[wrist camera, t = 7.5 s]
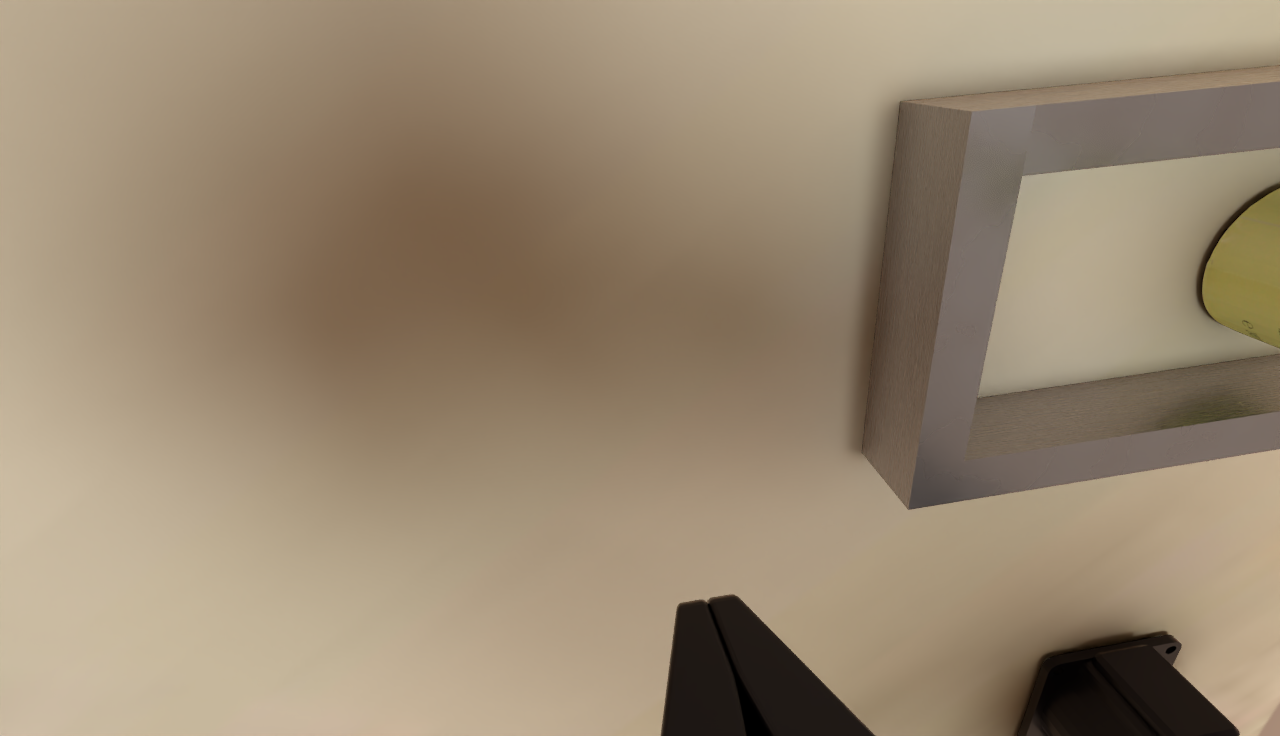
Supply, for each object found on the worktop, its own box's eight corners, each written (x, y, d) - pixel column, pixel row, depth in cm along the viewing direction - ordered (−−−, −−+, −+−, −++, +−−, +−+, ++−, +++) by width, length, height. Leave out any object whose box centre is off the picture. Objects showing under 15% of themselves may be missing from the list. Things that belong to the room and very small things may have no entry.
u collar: (1316, 382, 23) (1417, 426, 20) (861, 452, 21) (908, 509, 19) (1480, 46, 18) (1643, 45, 15) (900, 101, 16) (972, 111, 14)
